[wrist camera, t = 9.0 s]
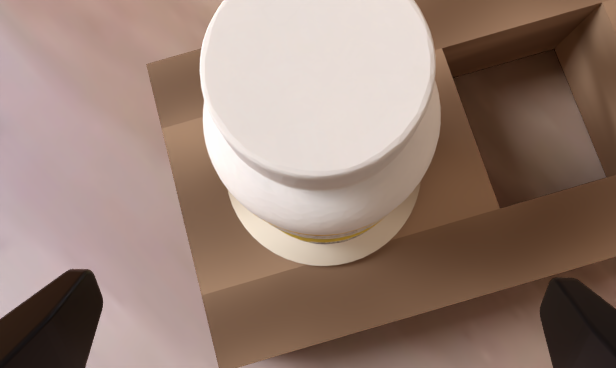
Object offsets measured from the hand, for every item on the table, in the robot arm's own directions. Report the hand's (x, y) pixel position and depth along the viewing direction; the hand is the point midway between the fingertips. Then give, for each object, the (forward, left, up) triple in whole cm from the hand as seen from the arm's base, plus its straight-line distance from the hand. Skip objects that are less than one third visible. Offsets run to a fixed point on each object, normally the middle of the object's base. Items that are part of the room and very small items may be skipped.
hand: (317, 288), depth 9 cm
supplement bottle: (+4, -1, -8) cm, 9 cm away
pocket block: (+4, -6, -12) cm, 14 cm away
